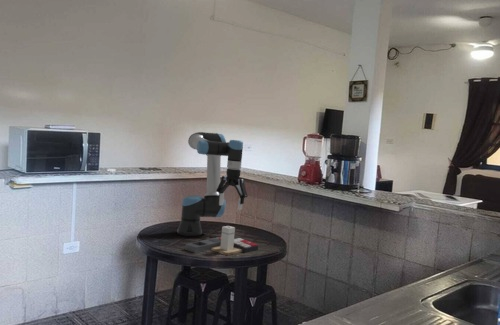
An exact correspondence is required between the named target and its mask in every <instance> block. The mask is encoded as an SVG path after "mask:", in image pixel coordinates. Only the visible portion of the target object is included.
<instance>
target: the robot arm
mask: <svg viewBox="0 0 500 325" xmlns="http://www.w3.org/2000/svg"><path fill="white" fill-rule="evenodd" d="M187 143H188V145H189V147H190V148H191V149H193V150H196V151H197V154H198V155H204V156H205V155H206V160H207V161H206V163H207V164H206V193H205V194H204V195H203V197H202V195H196V194H195V195H187V196H185V197H183V199H182V203H181V216H180V222H179V225H178V227H177V230H176V233H177V234H178V235H180V236H184V237H185V236H186V237H198V236H201V235H203V230H202V226H201V218H221V217H222V216H223V215H224V213H225V211H226V198H225V191H226V190H227V189H228V187H229V186H231V187H234V189H236V190H235V191H237V194H238V196H239V197H238V205H237V211H242V210H243V206H244V203H245V202H244V201H245V198H248V193H247V189H246V186H245V179H243V178H241V179H240V177H241V172H242V171H241V168H242V159H243V150H244V141H243V140H237V139H230V140H229V141H227V139H226V137H225V135H224V134H222V133H218V132H203V131H200V132H194V133H193V134H191V135H190V136H189V138H188V140H187ZM222 156H224V157H227V161H226V162H227V163H226V164H227V166H226V167H227V168H226V173H225V174H226V175H222V177H221V164H222V163H221V157H222Z"/></svg>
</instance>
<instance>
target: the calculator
mask: <svg viewBox="0 0 500 325" xmlns="http://www.w3.org/2000/svg"><path fill="white" fill-rule="evenodd" d="M233 247H235V248H239V249H242V252H241V253H245V254H247V253H251V252H256V251H258V250H259V245H258V244H257V243H255V242H252V241H250V240H247V239H243V238H241V237H238V238H234V246H233Z"/></svg>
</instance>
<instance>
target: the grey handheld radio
mask: <svg viewBox="0 0 500 325" xmlns="http://www.w3.org/2000/svg"><path fill="white" fill-rule="evenodd" d="M218 246H221V236H220V237H218V236H217V237H213V238H212V237H211V238H207V239H203V240H199V241H198V240H197V241H194V242H189V243H185V245H184V251H185V250H186V251H187V252H192V253H195V254H198V253H201V252H206V251H210V250H211V248H213V247H218ZM211 251H212V250H211Z"/></svg>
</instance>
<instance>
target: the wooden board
mask: <svg viewBox="0 0 500 325" xmlns="http://www.w3.org/2000/svg"><path fill="white" fill-rule="evenodd" d="M220 247H221V246H218V247H213V248H211V251H212V252H216V253H218V254H221V255H225V256H231V255H236V254H239V253H243V252H242V249H239V248H235V247H233V249H232V250H228V251H227V250H224V249H220Z"/></svg>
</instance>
